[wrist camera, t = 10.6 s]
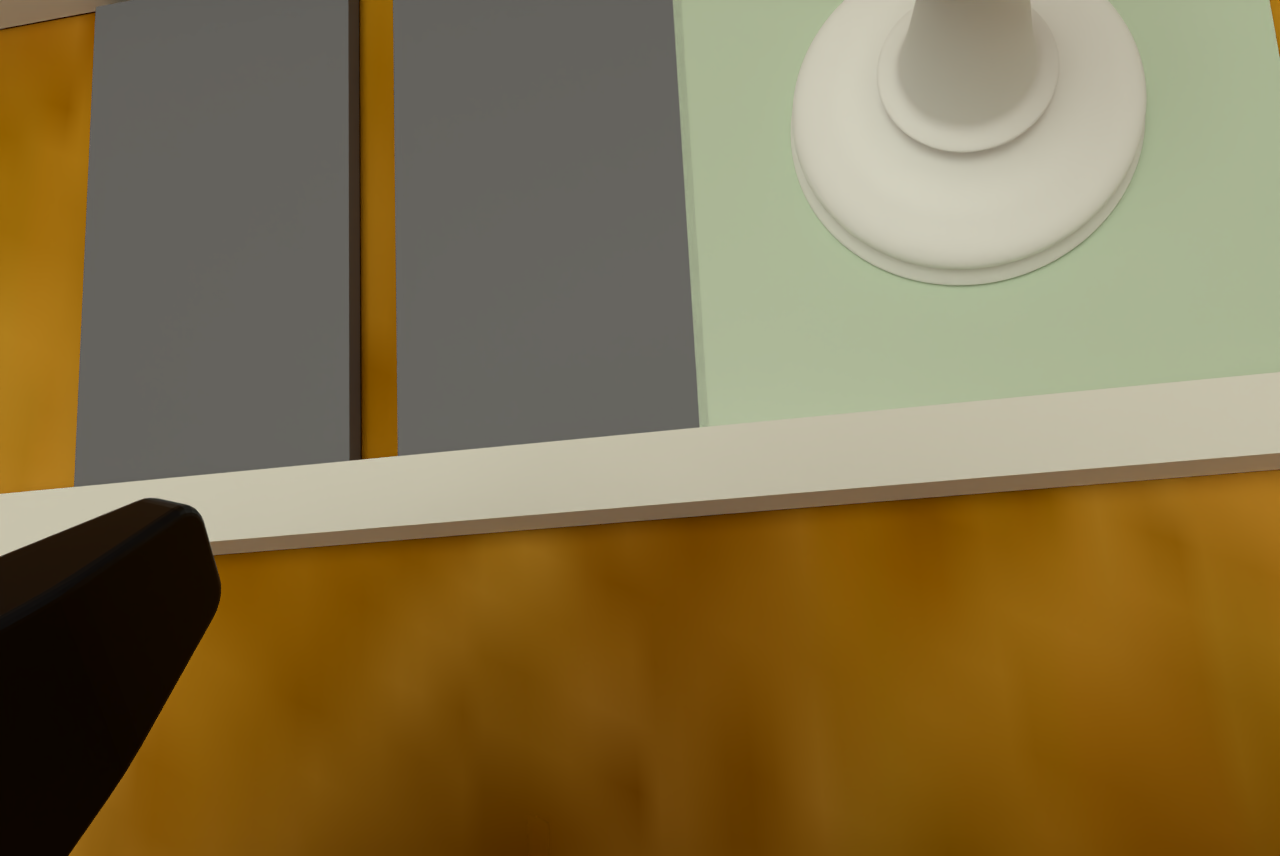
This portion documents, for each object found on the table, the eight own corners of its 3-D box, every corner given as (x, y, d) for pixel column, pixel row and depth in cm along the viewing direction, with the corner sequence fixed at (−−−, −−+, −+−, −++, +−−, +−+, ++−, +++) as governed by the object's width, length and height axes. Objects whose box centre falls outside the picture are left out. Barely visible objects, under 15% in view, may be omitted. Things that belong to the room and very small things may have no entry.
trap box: (-397, 603, 22) (-490, 599, 20) (-327, 43, 24) (-407, 4, 22) (1469, 454, 16) (1526, 432, 14) (1325, -277, 18) (1362, -360, 16)
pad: (704, 434, 18) (699, 430, 17) (670, -84, 20) (666, -99, 19) (1324, 377, 16) (1334, 370, 16) (1226, -185, 18) (1233, -204, 18)
